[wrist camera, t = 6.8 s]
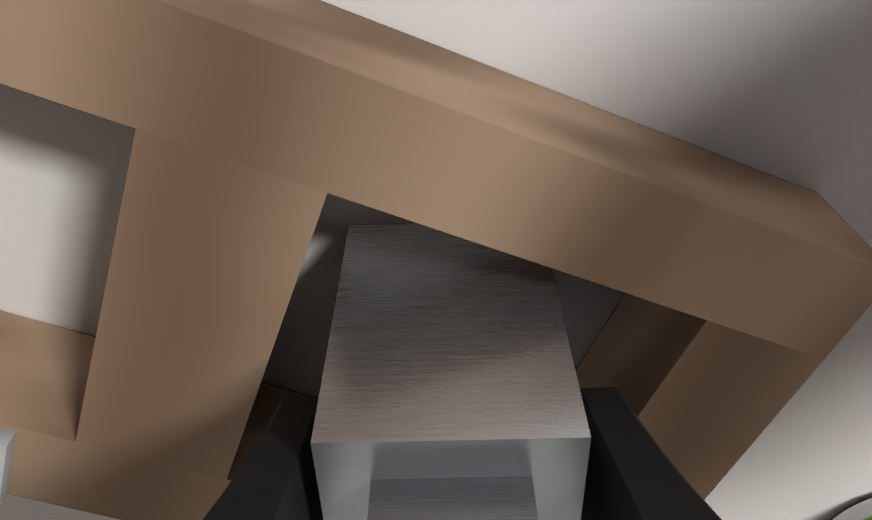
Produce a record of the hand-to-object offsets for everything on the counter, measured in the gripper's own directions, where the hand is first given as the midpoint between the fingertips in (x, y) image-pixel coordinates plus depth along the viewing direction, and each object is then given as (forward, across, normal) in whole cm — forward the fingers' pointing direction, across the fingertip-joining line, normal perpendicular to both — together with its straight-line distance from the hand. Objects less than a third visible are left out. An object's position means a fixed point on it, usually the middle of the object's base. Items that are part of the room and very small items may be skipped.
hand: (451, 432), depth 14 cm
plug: (+4, 0, 0) cm, 4 cm away
